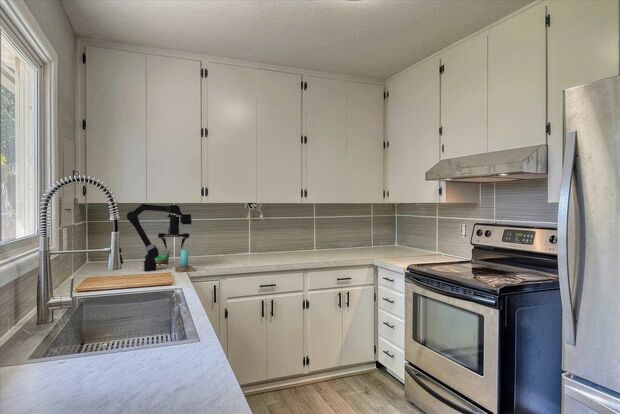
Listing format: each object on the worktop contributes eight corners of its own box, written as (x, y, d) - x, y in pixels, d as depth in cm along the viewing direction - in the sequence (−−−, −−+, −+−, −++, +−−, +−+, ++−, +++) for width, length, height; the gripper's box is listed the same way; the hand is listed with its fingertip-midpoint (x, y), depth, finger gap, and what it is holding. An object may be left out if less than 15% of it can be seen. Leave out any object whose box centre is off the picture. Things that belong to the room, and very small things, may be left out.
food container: (150, 265, 259) (150, 250, 259) (151, 264, 265) (151, 250, 265) (169, 265, 262) (169, 250, 262) (170, 264, 268) (170, 249, 268)
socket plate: (179, 272, 231) (179, 268, 231) (175, 270, 238) (175, 266, 238) (193, 271, 236) (193, 267, 236) (189, 269, 243) (189, 265, 243)
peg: (181, 271, 234) (182, 250, 234) (179, 270, 238) (180, 249, 238) (188, 271, 236) (189, 250, 237) (186, 270, 240) (187, 249, 240)
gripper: (190, 224, 254) (189, 247, 253) (160, 224, 249) (160, 247, 249) (189, 224, 243) (188, 249, 243) (158, 224, 238) (157, 249, 238)
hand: (173, 248), depth 243 cm, fingers open, 9 cm apart
